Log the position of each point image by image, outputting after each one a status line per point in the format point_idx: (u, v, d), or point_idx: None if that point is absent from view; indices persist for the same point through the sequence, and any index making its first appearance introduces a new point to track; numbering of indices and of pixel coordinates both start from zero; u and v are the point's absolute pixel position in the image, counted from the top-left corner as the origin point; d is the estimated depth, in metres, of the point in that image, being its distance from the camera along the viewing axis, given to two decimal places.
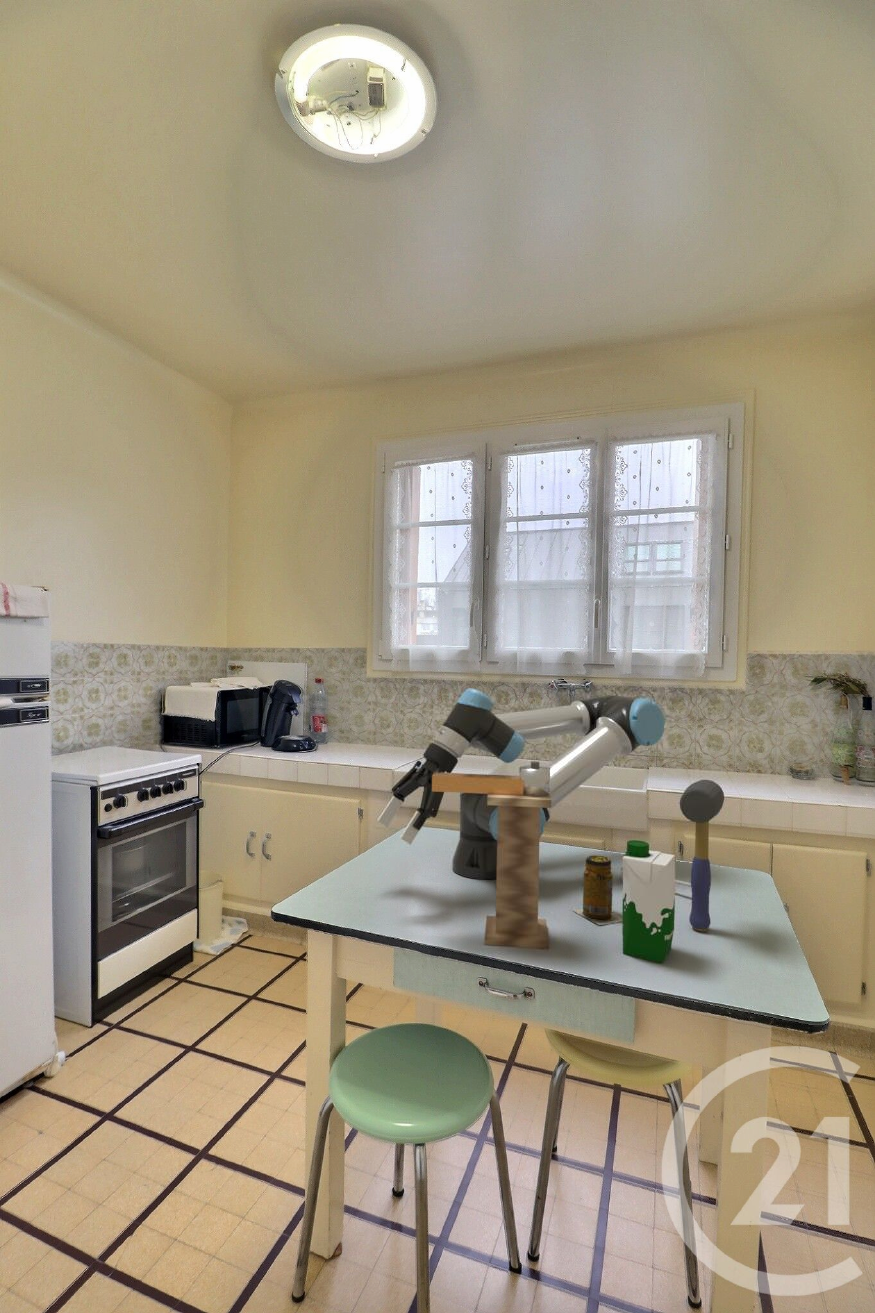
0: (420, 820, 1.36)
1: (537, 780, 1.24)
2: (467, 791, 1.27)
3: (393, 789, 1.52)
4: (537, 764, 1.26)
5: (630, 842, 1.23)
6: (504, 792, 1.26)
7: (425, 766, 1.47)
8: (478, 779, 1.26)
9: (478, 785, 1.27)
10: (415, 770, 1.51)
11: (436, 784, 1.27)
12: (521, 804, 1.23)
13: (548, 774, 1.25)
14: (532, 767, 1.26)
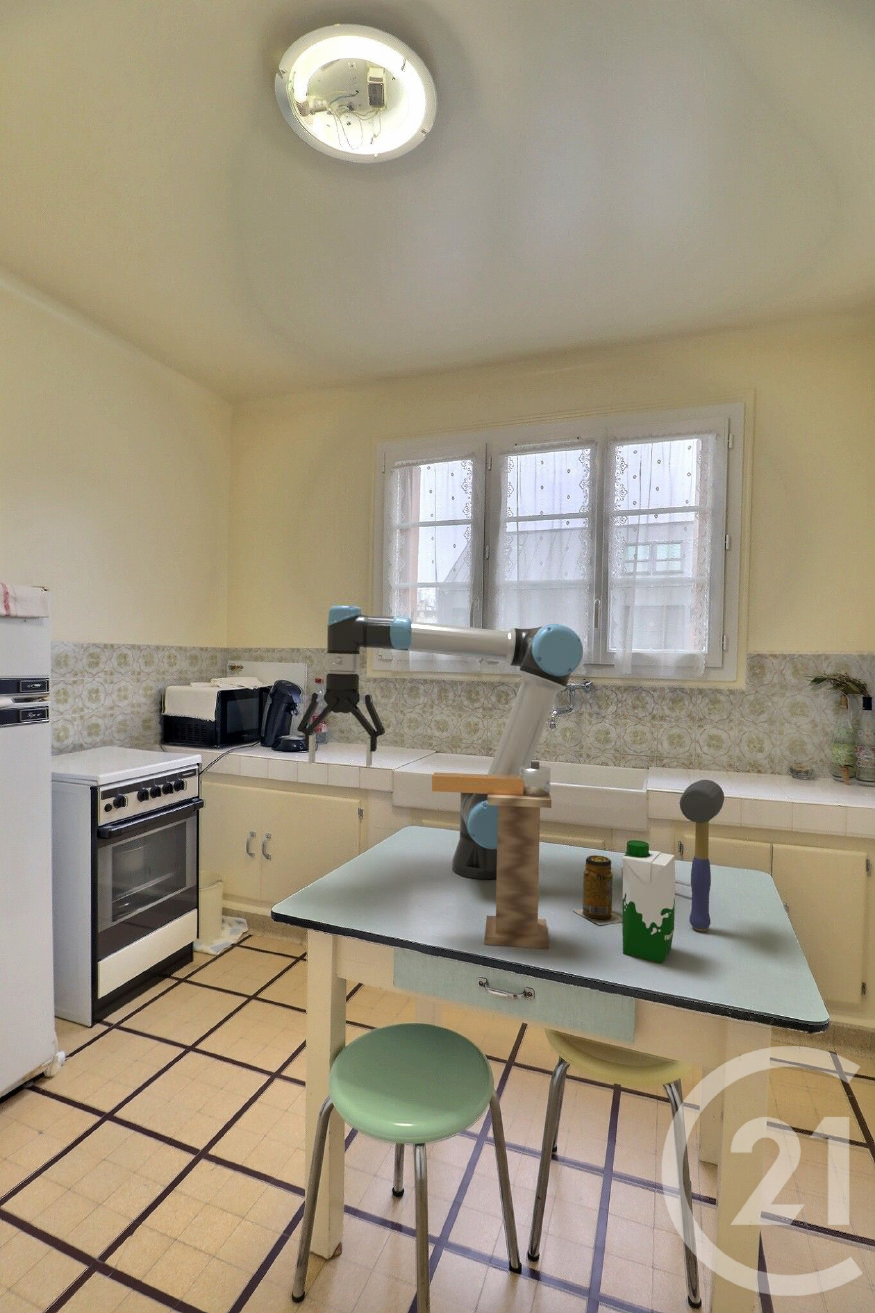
0: (375, 743, 1.49)
1: (537, 780, 1.24)
2: (467, 791, 1.27)
3: (301, 729, 1.51)
4: (537, 764, 1.26)
5: (630, 842, 1.23)
6: (504, 792, 1.26)
7: (332, 695, 1.50)
8: (478, 779, 1.26)
9: (478, 785, 1.27)
10: (316, 702, 1.51)
11: (436, 784, 1.27)
12: (521, 804, 1.23)
13: (548, 774, 1.25)
14: (532, 767, 1.26)
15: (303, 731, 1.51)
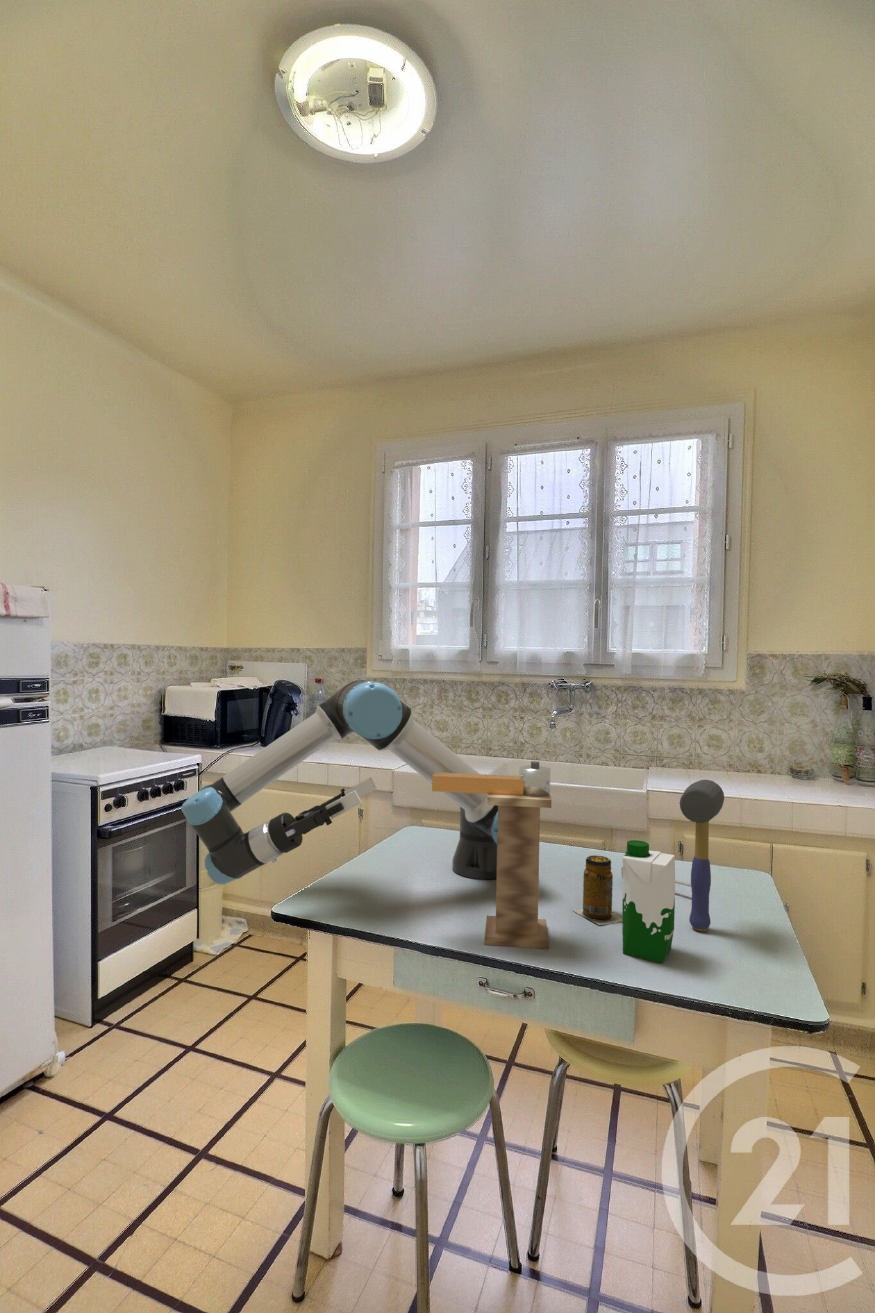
0: (333, 813, 1.23)
1: (537, 780, 1.24)
2: (467, 791, 1.27)
3: None
4: (537, 764, 1.26)
5: (630, 842, 1.23)
6: (504, 792, 1.26)
7: None
8: (478, 779, 1.26)
9: (478, 785, 1.27)
10: None
11: (436, 784, 1.27)
12: (521, 804, 1.23)
13: (548, 774, 1.25)
14: (532, 767, 1.26)
15: None
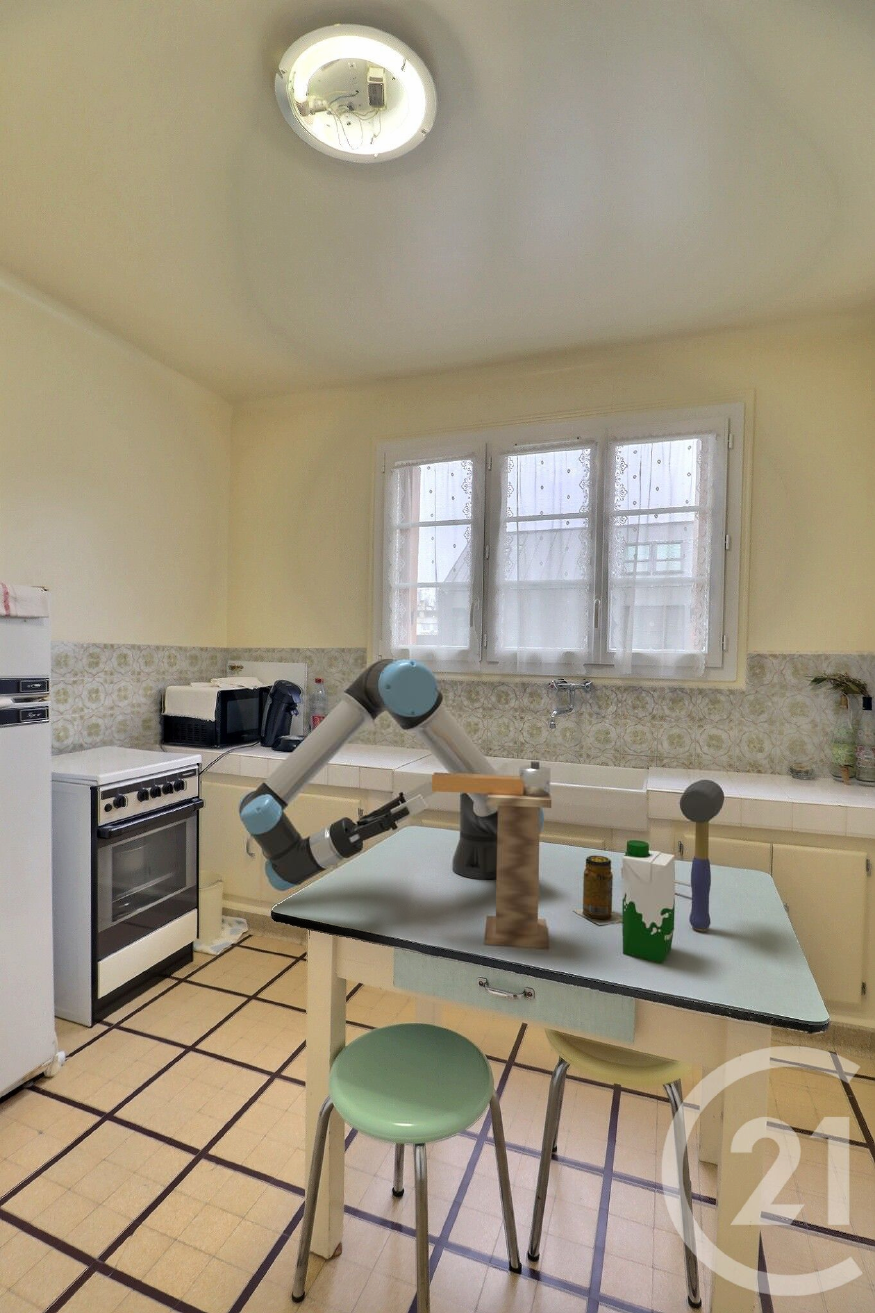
0: (399, 817, 1.21)
1: (537, 780, 1.24)
2: (467, 791, 1.27)
3: None
4: (537, 764, 1.26)
5: (630, 842, 1.23)
6: (504, 792, 1.26)
7: None
8: (478, 779, 1.26)
9: (478, 785, 1.27)
10: None
11: (436, 784, 1.27)
12: (521, 804, 1.23)
13: (548, 774, 1.25)
14: (532, 767, 1.26)
15: None
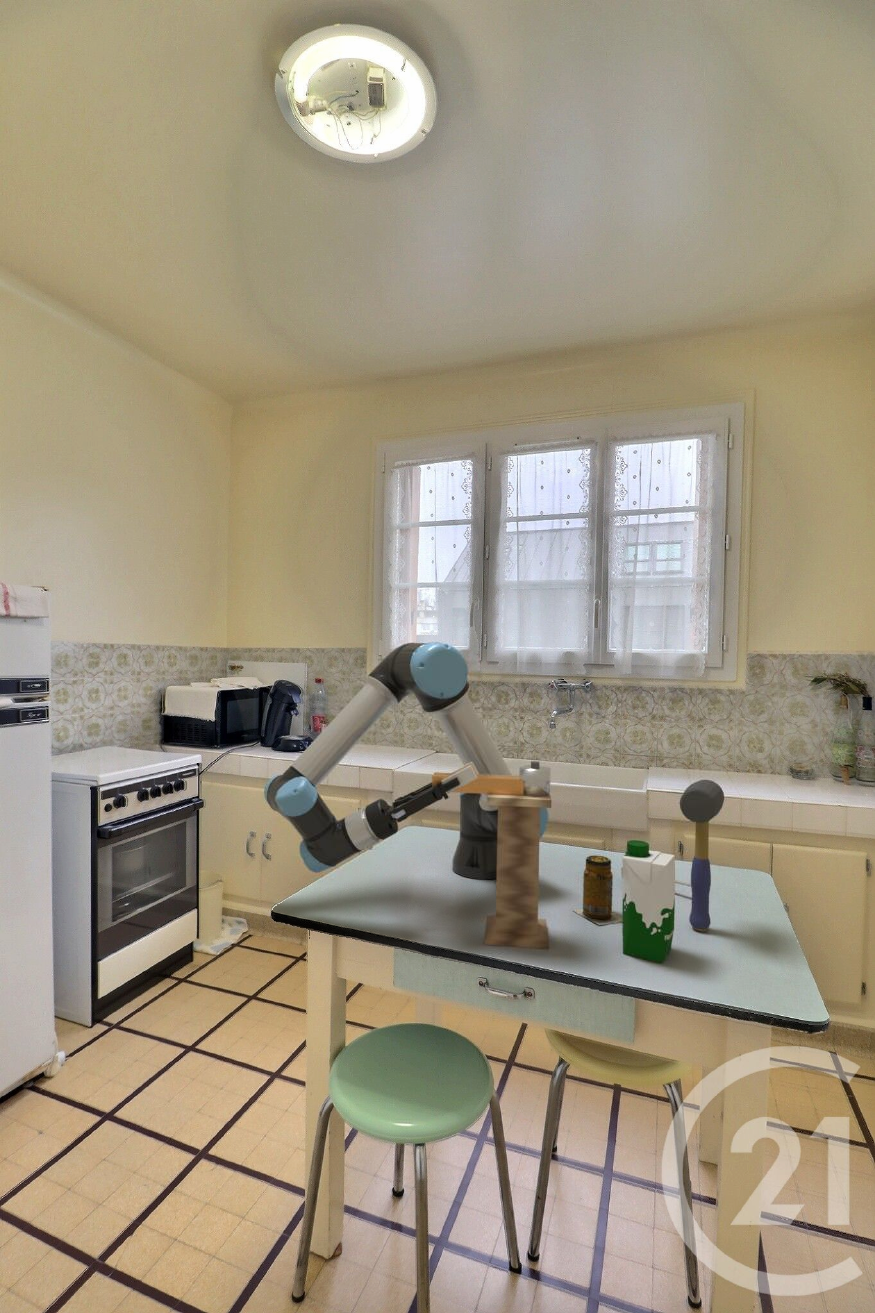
0: (450, 787, 1.25)
1: (537, 780, 1.24)
2: (467, 791, 1.27)
3: None
4: (537, 764, 1.26)
5: (630, 842, 1.23)
6: (504, 792, 1.26)
7: None
8: (478, 779, 1.26)
9: (478, 785, 1.26)
10: None
11: (436, 784, 1.27)
12: (521, 804, 1.23)
13: (548, 774, 1.25)
14: (532, 767, 1.26)
15: None
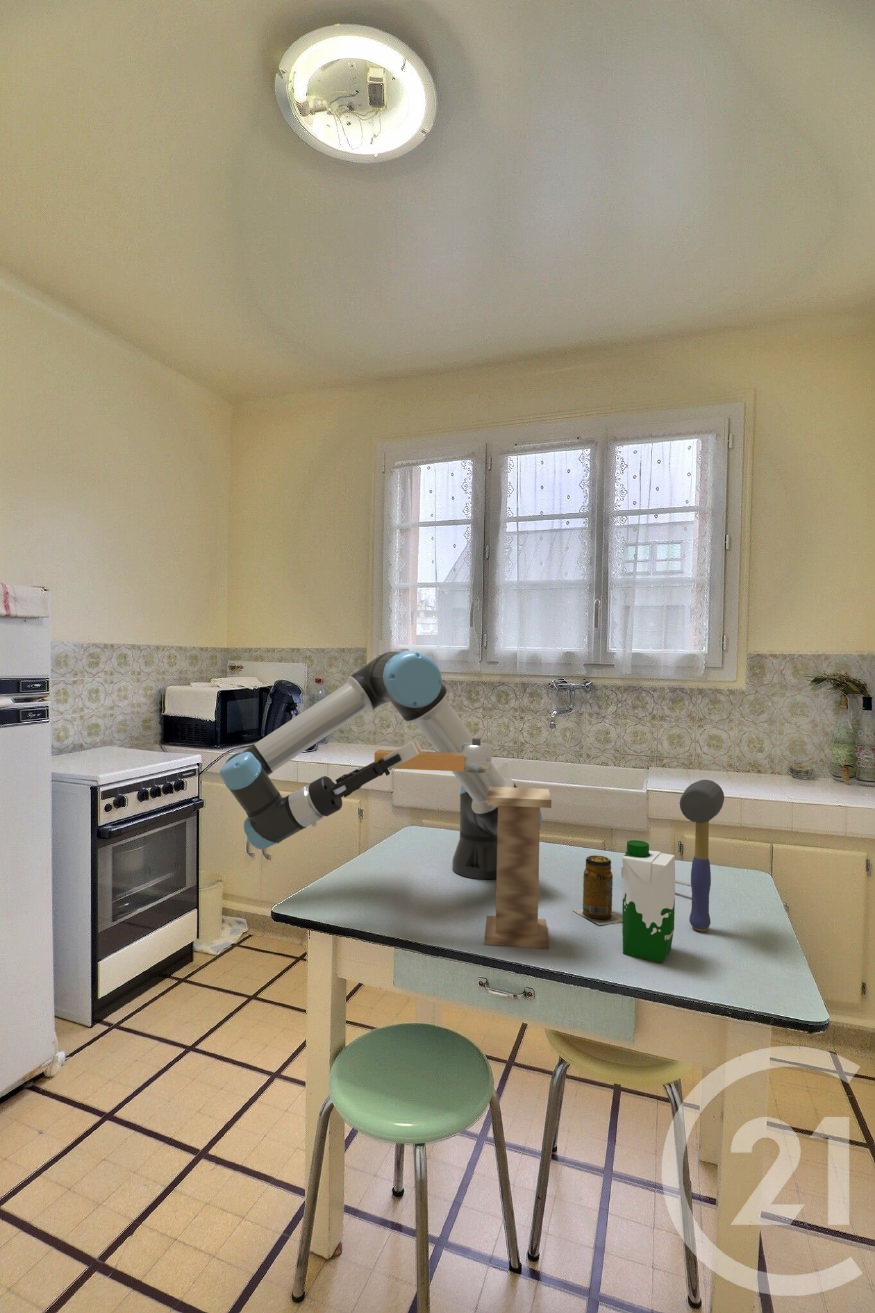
0: (391, 763, 1.26)
1: (477, 756, 1.25)
2: (409, 767, 1.28)
3: None
4: (478, 740, 1.27)
5: (630, 842, 1.23)
6: (445, 768, 1.27)
7: None
8: (420, 755, 1.27)
9: (419, 761, 1.27)
10: None
11: None
12: (521, 804, 1.23)
13: (489, 750, 1.26)
14: (473, 743, 1.27)
15: None
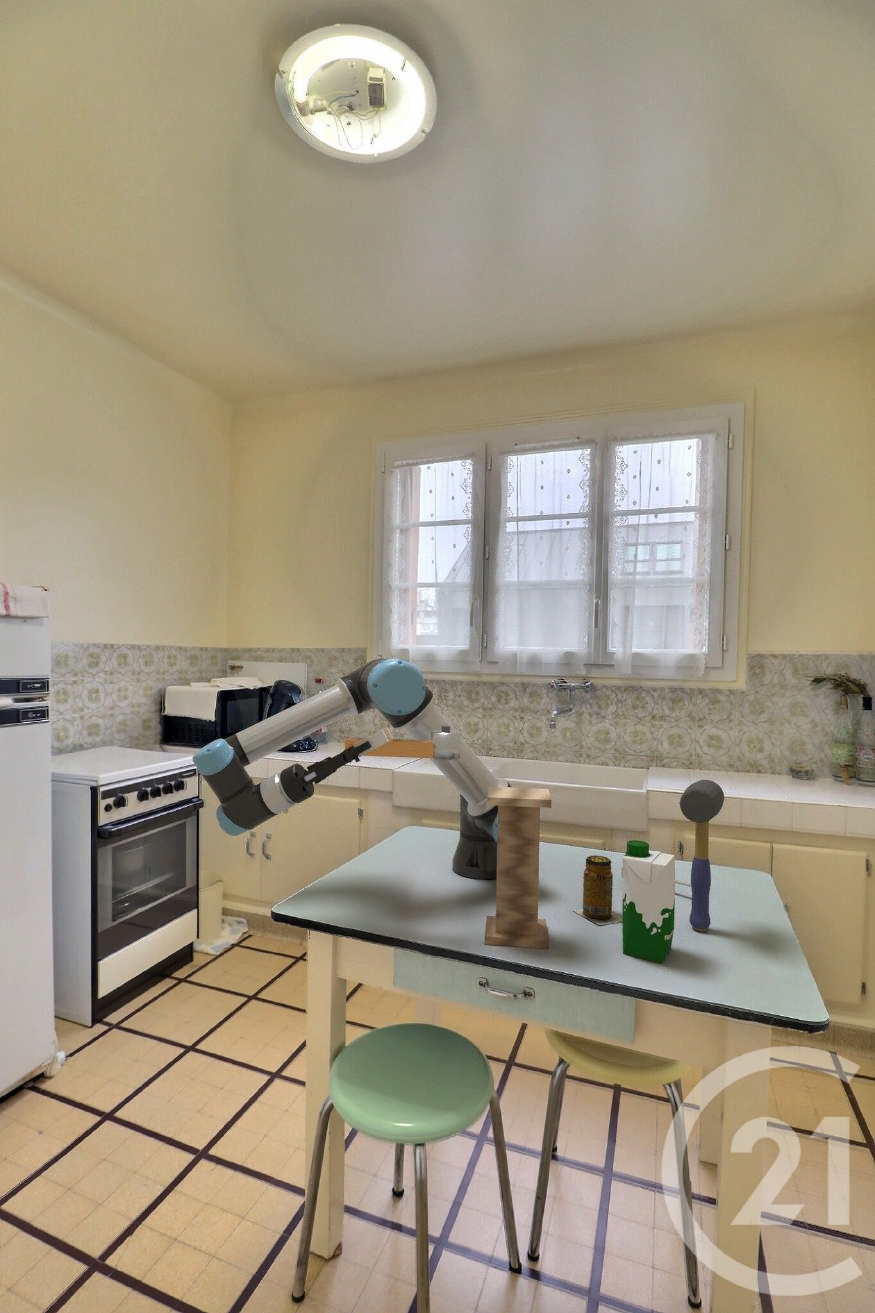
0: (361, 750, 1.27)
1: (446, 743, 1.26)
2: (379, 755, 1.29)
3: None
4: (447, 728, 1.28)
5: (630, 842, 1.23)
6: (415, 755, 1.28)
7: None
8: (389, 743, 1.28)
9: (389, 748, 1.28)
10: None
11: None
12: (521, 804, 1.23)
13: (458, 737, 1.27)
14: (443, 731, 1.28)
15: None
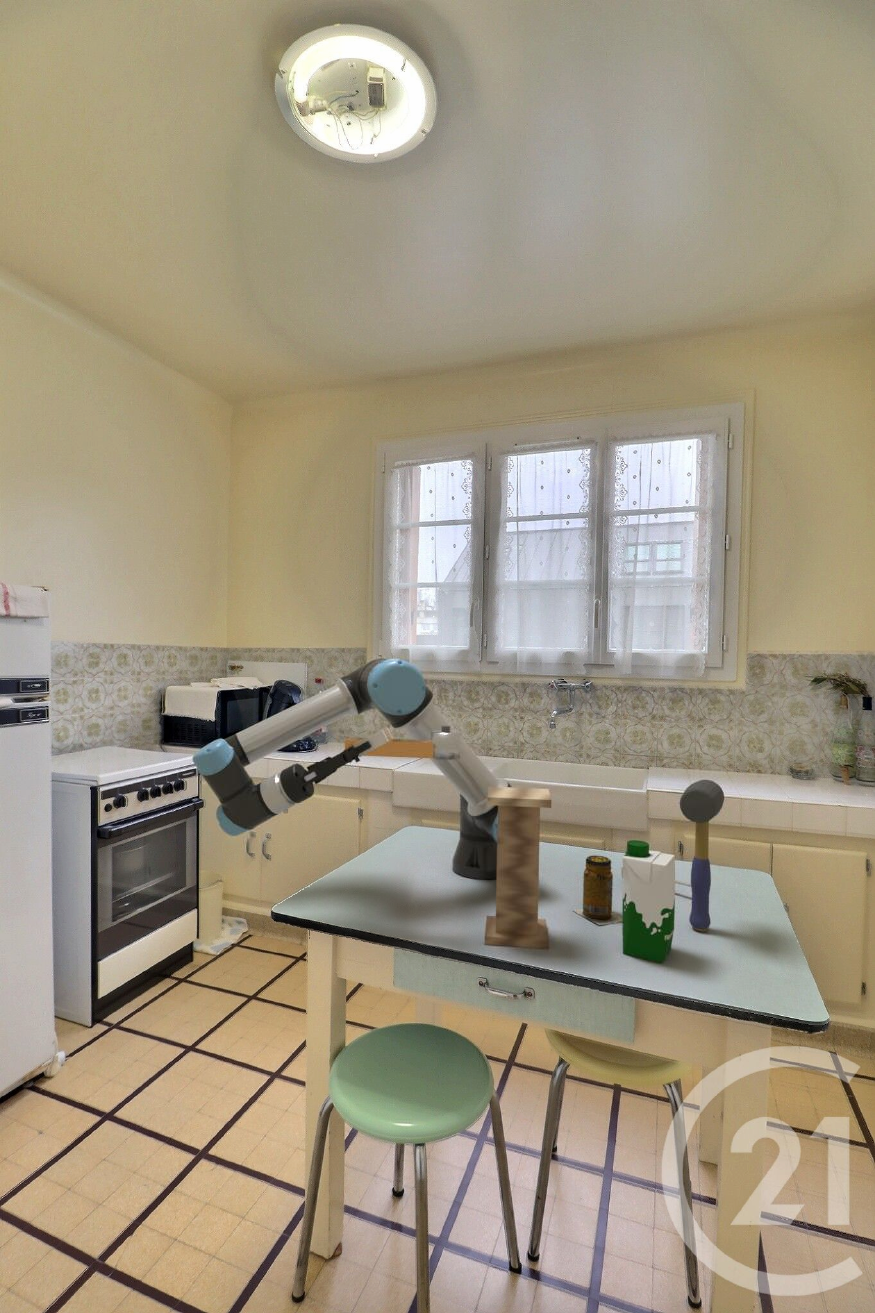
0: (361, 750, 1.27)
1: (446, 743, 1.26)
2: (379, 755, 1.29)
3: None
4: (447, 728, 1.28)
5: (630, 842, 1.23)
6: (415, 755, 1.28)
7: None
8: (389, 743, 1.28)
9: (389, 748, 1.28)
10: None
11: None
12: (521, 804, 1.23)
13: (458, 737, 1.27)
14: (443, 731, 1.28)
15: None
